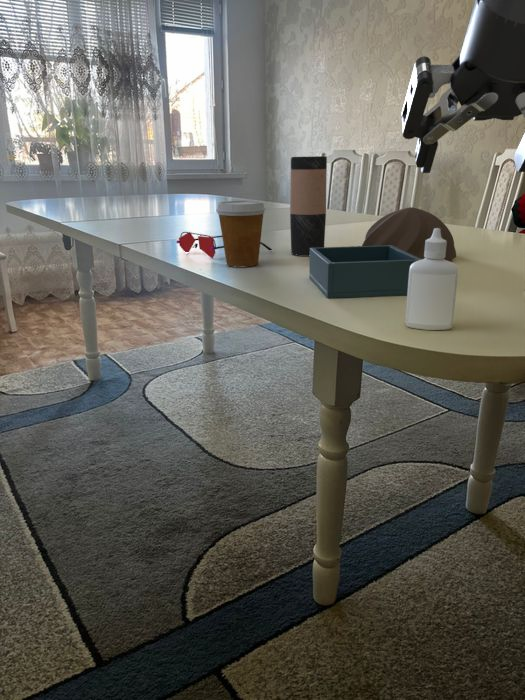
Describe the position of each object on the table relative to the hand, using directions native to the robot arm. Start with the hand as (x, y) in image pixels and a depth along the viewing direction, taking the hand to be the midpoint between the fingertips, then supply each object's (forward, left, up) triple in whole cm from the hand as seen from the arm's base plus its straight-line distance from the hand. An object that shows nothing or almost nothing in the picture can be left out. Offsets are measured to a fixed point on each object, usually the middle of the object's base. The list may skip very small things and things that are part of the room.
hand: (471, 165), depth 50 cm
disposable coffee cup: (+18, -56, -19) cm, 62 cm away
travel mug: (+3, -66, -19) cm, 69 cm away
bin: (0, -34, -19) cm, 39 cm away
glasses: (+21, -71, -19) cm, 77 cm away
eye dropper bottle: (-2, -11, -19) cm, 23 cm away
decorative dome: (-17, -59, -19) cm, 65 cm away
